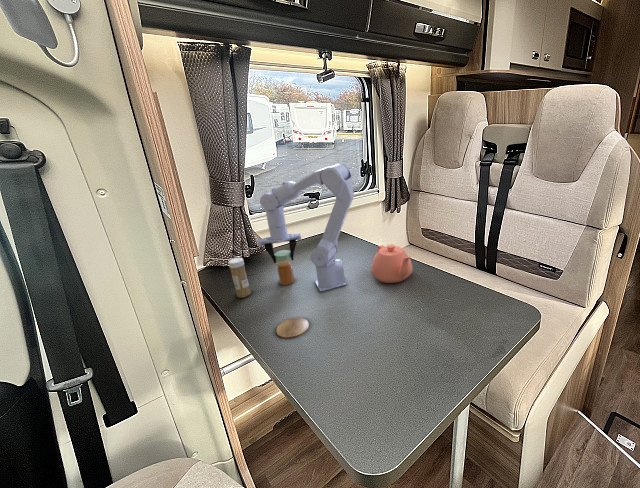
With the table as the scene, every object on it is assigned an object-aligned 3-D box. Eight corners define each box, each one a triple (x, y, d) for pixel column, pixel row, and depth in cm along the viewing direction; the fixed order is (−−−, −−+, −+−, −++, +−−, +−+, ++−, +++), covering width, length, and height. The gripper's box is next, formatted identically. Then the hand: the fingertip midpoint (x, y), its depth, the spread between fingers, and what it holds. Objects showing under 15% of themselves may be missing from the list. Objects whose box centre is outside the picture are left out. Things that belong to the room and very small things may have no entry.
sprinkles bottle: (252, 295, 110) (244, 260, 105) (237, 299, 108) (229, 264, 103) (249, 289, 114) (241, 256, 109) (235, 293, 111) (227, 259, 107)
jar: (293, 277, 122) (290, 259, 119) (295, 282, 118) (292, 264, 115) (279, 280, 120) (275, 262, 117) (281, 286, 116) (277, 268, 113)
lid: (274, 262, 112) (273, 257, 111) (275, 255, 117) (274, 251, 116) (291, 259, 113) (290, 254, 113) (291, 253, 118) (290, 248, 118)
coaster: (305, 315, 98) (305, 314, 98) (311, 331, 91) (311, 330, 90) (274, 324, 94) (274, 323, 94) (278, 342, 87) (278, 341, 87)
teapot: (427, 282, 115) (427, 250, 111) (391, 295, 107) (389, 262, 103) (395, 261, 132) (394, 233, 128) (361, 271, 125) (359, 242, 120)
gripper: (254, 232, 105) (261, 268, 110) (299, 226, 109) (304, 261, 114) (255, 225, 111) (262, 260, 116) (298, 220, 116) (303, 254, 120)
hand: (283, 260), depth 116 cm, fingers closed on lid, 5 cm apart
